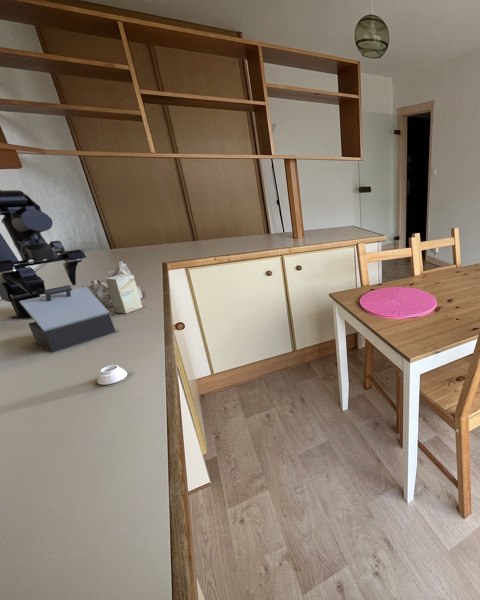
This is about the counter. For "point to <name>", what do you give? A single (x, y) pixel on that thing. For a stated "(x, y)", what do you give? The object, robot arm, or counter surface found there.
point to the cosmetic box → (124, 293)
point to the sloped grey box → (72, 332)
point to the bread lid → (63, 307)
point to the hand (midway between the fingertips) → (53, 289)
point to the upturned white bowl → (111, 375)
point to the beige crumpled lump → (101, 287)
